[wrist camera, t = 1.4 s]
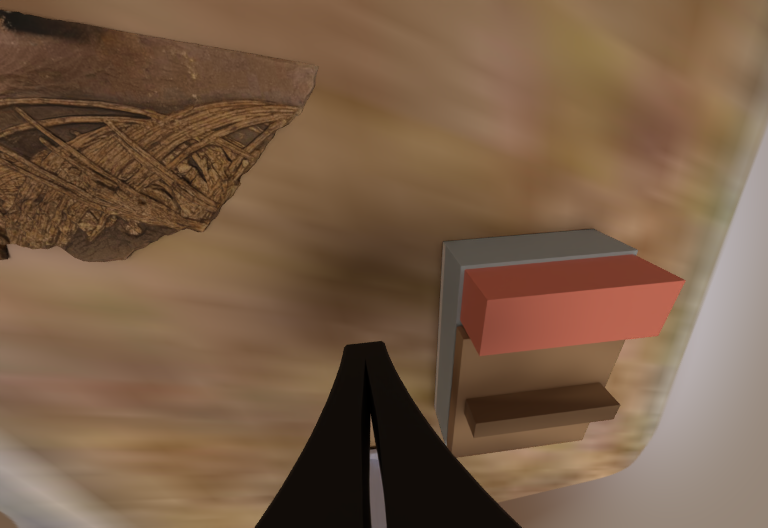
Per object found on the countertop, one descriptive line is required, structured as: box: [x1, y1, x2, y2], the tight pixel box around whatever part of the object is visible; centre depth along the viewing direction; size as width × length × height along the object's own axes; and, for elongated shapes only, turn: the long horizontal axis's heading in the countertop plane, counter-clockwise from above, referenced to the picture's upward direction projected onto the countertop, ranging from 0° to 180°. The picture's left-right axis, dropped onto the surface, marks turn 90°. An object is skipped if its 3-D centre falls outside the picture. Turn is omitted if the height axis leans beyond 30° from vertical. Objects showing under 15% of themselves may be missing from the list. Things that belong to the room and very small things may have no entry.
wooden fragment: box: [0, 10, 319, 262], centre depth 12 cm, size 26×11×1 cm, turn 96°
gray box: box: [434, 229, 638, 445], centre depth 19 cm, size 14×9×3 cm, turn 2°
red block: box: [460, 254, 686, 356], centre depth 14 cm, size 3×9×3 cm, turn 92°
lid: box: [447, 326, 625, 458], centre depth 17 cm, size 10×9×2 cm
